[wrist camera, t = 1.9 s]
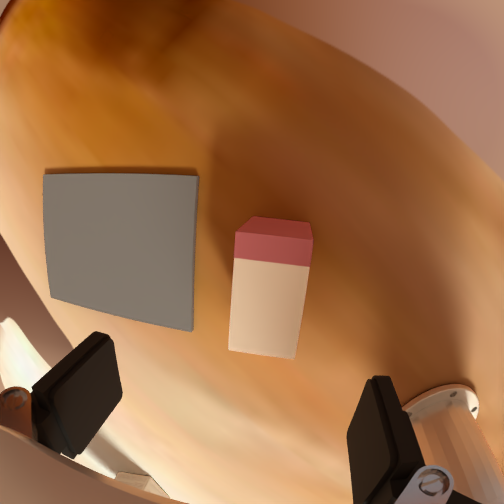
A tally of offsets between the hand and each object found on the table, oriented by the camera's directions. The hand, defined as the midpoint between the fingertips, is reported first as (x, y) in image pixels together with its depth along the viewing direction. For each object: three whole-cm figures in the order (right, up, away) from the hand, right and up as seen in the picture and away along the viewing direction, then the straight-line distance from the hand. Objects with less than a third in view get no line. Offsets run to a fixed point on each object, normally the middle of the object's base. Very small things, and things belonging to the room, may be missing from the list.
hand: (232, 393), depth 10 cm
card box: (+3, +4, +16) cm, 16 cm away
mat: (-13, +5, +17) cm, 23 cm away
